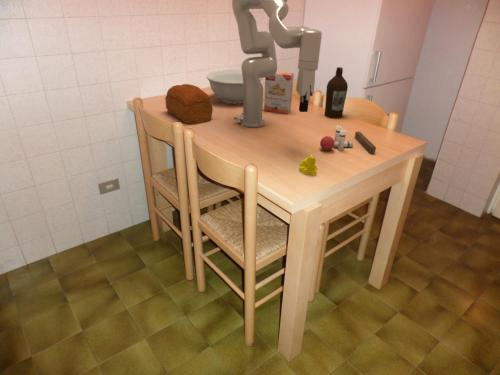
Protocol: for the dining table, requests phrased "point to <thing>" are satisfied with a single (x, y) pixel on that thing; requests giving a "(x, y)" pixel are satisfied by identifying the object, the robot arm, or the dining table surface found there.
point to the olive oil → (336, 95)
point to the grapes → (308, 166)
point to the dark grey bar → (365, 142)
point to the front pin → (345, 144)
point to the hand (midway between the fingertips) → (303, 111)
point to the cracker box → (278, 92)
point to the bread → (189, 103)
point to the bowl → (227, 85)
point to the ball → (327, 143)
